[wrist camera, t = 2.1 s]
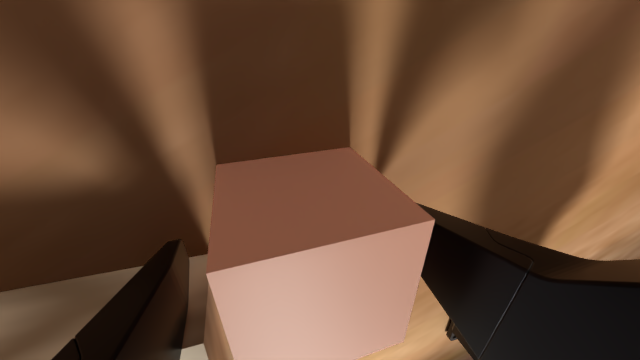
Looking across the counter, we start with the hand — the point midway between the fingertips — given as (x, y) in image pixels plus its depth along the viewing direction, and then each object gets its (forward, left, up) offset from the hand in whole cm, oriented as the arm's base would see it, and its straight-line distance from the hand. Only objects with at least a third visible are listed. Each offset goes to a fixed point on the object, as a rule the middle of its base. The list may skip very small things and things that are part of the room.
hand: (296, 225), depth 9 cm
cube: (0, 0, -1) cm, 1 cm away
